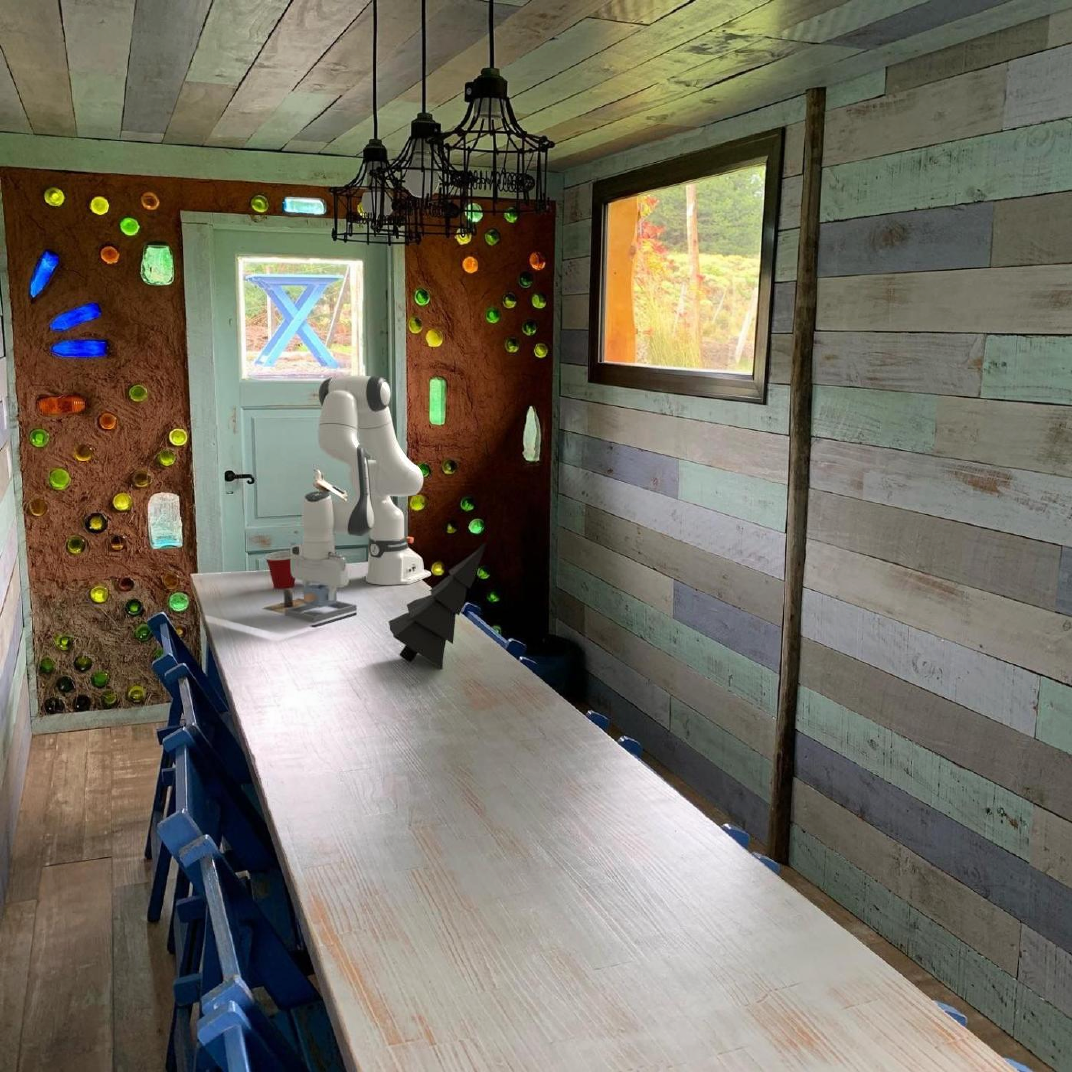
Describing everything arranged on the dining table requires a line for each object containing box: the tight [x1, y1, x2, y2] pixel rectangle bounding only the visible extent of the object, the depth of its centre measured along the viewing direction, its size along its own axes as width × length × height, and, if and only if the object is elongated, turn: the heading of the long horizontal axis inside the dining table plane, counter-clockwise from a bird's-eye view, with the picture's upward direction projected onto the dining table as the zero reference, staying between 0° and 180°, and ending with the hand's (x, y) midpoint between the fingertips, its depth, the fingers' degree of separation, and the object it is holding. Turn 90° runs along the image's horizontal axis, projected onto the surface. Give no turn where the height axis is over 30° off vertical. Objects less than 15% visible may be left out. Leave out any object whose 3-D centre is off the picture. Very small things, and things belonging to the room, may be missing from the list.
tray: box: [284, 600, 358, 628], centre depth 307 cm, size 16×12×3 cm
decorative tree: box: [388, 542, 487, 670], centre depth 268 cm, size 15×15×35 cm
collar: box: [302, 583, 338, 609], centre depth 305 cm, size 8×6×5 cm
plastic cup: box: [264, 550, 296, 590], centre depth 336 cm, size 11×11×12 cm
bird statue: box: [312, 468, 349, 554], centre depth 363 cm, size 17×13×35 cm
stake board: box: [262, 588, 305, 615], centre depth 314 cm, size 14×10×6 cm
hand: (320, 597), depth 306 cm, fingers closed on collar, 6 cm apart
